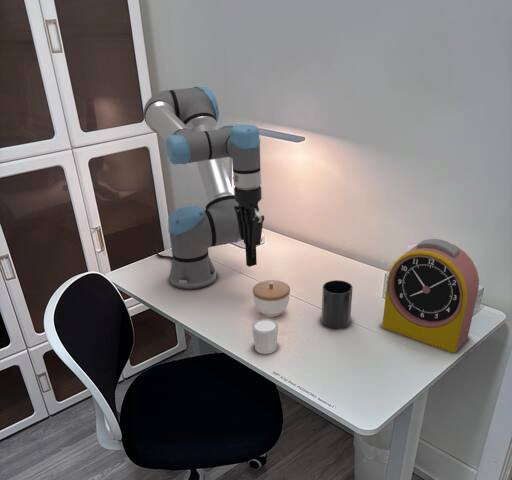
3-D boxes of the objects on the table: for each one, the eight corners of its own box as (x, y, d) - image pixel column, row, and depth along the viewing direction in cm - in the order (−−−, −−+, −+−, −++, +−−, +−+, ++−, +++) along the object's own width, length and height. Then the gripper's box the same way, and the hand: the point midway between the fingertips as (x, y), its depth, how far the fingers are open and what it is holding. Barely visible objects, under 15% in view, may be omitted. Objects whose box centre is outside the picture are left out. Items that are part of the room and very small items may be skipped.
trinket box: (283, 323, 149) (283, 294, 144) (248, 317, 152) (246, 289, 147) (294, 305, 157) (294, 277, 152) (261, 300, 161) (259, 272, 155)
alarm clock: (380, 327, 145) (390, 238, 131) (396, 313, 151) (407, 226, 136) (454, 353, 134) (474, 258, 119) (468, 337, 140) (489, 245, 125)
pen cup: (316, 319, 150) (317, 285, 144) (338, 311, 153) (339, 277, 147) (333, 332, 144) (335, 297, 138) (355, 323, 148) (358, 288, 142)
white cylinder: (283, 349, 138) (283, 326, 135) (262, 358, 135) (261, 335, 131) (268, 337, 143) (268, 315, 139) (247, 346, 140) (246, 324, 136)
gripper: (224, 183, 147) (230, 260, 160) (247, 194, 137) (251, 276, 150) (247, 178, 150) (251, 254, 163) (271, 189, 140) (273, 269, 153)
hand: (251, 264), depth 157 cm, fingers closed
